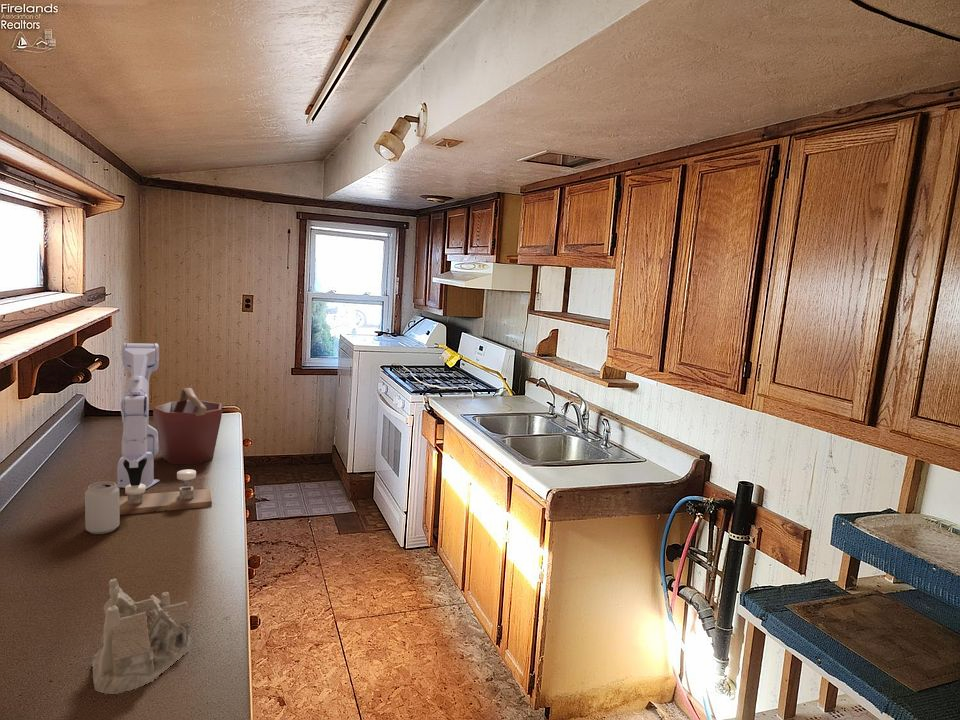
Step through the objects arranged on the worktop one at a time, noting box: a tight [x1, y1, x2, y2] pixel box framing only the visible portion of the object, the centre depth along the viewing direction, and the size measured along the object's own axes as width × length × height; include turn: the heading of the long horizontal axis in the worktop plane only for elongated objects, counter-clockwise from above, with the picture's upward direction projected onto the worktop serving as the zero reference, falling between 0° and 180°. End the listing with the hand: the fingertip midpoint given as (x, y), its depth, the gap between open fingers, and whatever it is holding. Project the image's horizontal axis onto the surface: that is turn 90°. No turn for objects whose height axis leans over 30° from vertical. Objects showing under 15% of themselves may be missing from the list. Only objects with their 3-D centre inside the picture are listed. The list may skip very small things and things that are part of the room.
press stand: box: [119, 485, 213, 516], centre depth 176 cm, size 26×11×4 cm, turn 116°
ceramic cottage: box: [91, 578, 193, 695], centre depth 107 cm, size 16×16×15 cm
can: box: [84, 480, 121, 535], centre depth 157 cm, size 8×8×12 cm
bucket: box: [152, 387, 223, 465], centre depth 218 cm, size 24×22×25 cm
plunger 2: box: [176, 469, 197, 487], centre depth 178 cm, size 5×5×4 cm
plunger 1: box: [124, 484, 147, 496], centre depth 173 cm, size 5×5×4 cm
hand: (135, 485), depth 173 cm, fingers closed
